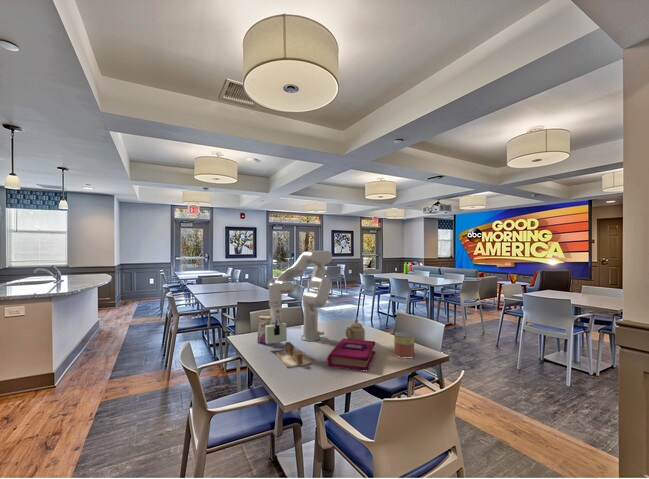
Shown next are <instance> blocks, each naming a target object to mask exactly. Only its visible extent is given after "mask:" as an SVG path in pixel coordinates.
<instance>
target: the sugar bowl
mask: <svg viewBox="0 0 649 479" xmlns="http://www.w3.org/2000/svg"><path fill="white" fill-rule="evenodd" d="M358 320H359V319H357V318H355V319H354V322H352V323H351V324H349V327H347V328H346V330H345V337H346V339H354V340H363V341H365V336H366V333H365V330H366V329H365V327H363V326H364V325H363V324H361V323H359V322H358Z"/></svg>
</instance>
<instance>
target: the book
mask: <svg viewBox="0 0 649 479" xmlns="http://www.w3.org/2000/svg"><path fill="white" fill-rule="evenodd" d="M375 346H376V341H373V340H364V341H363V340H354V339H348V338H342V339H340V341H339V342H338V343H337V345H336V346H335V347H334V348H333V349H332V350H331V352H330V353H328V355H327V365H328V366H329V367H333V368H339V367H340V368H341V369H346V368H348V370H354V369H357V370H356V371H360V370H365V371H364V372H367V371H366V370H368V369H370V366H371V364H372V361H373V359H374V357H375V355H374V354H376V351H375V350H373V349H374V348H375ZM373 356H374V357H373ZM370 363H371V364H370ZM368 371H369V370H368Z"/></svg>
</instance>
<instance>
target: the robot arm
mask: <svg viewBox="0 0 649 479" xmlns="http://www.w3.org/2000/svg"><path fill="white" fill-rule="evenodd" d="M332 260H333V254H332V252H330V251H329V250H306V251H302V253H301V254H300V255H299V257H298V258H297V260H296V261H295V262H294V263H293V265H292V266H289V267H288V268H287V269H286V270H284V271H283V272H282V273H280V274H279V275H278V277H277V278H276V279H275V281H274V282H270V283H269V285H268V306H269V308H270V312H269V313H270V315H269V316H271V321H272V324H275V328H274V335H280V323H283V314H282V304H283V302H282V300H283V298H282V297H283V296H282V295H286V294H287V295H289V294H292V293H293V292H294V291H295V284H294V283H293V282H291V281H290V280H292V279H294V278H296V277H300V276H302V275H303V274H304V273H305V271H306V270H307V268H309V267H310V265H312V266H313V271H312V274H311V277H310V281H309V284H308V286H309V288H310V289H311V290H307V291H305V292H304V293H303V295H302V298H301V299H302V305H303V334H302V335H301V336H300V337H301V338H300V339H301V340H302V341H306V342H314V341H318V340H320V338H321V337H320V336H324V335H325V331H319V330H318V327H319V326H318V325H319V324H318V322H319V321H318V318H319V317H318V316H319V310H318V308H324V306H326V304H327V303H328V299H329V295H330V293H331V292H330V291H331V288H332V281H331V279H330V278H329V277H325V276H326V267H325V265H326V264H327V265H328V264H329V263H331V262H332ZM312 290H313V291H312ZM276 324H277V325H276Z"/></svg>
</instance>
